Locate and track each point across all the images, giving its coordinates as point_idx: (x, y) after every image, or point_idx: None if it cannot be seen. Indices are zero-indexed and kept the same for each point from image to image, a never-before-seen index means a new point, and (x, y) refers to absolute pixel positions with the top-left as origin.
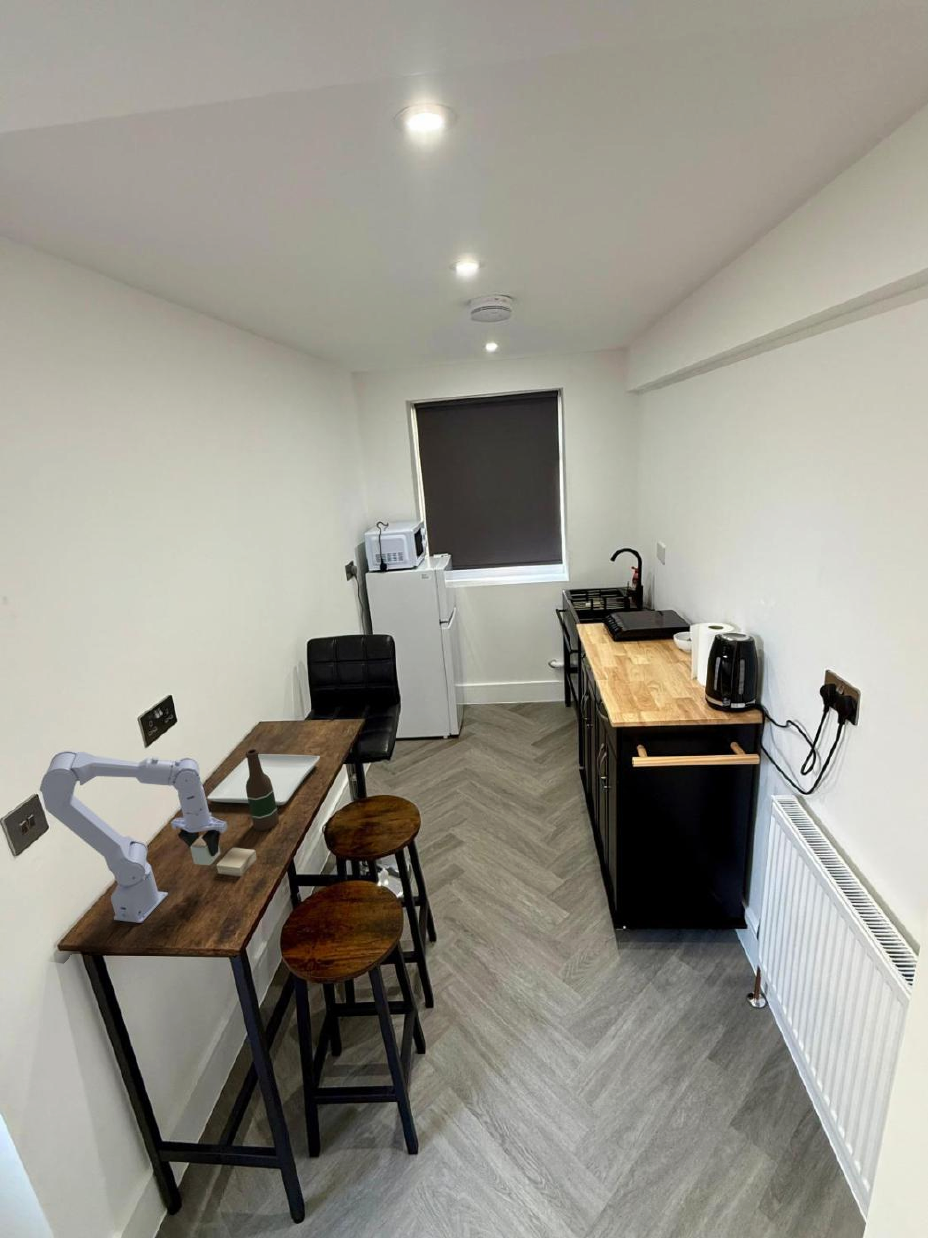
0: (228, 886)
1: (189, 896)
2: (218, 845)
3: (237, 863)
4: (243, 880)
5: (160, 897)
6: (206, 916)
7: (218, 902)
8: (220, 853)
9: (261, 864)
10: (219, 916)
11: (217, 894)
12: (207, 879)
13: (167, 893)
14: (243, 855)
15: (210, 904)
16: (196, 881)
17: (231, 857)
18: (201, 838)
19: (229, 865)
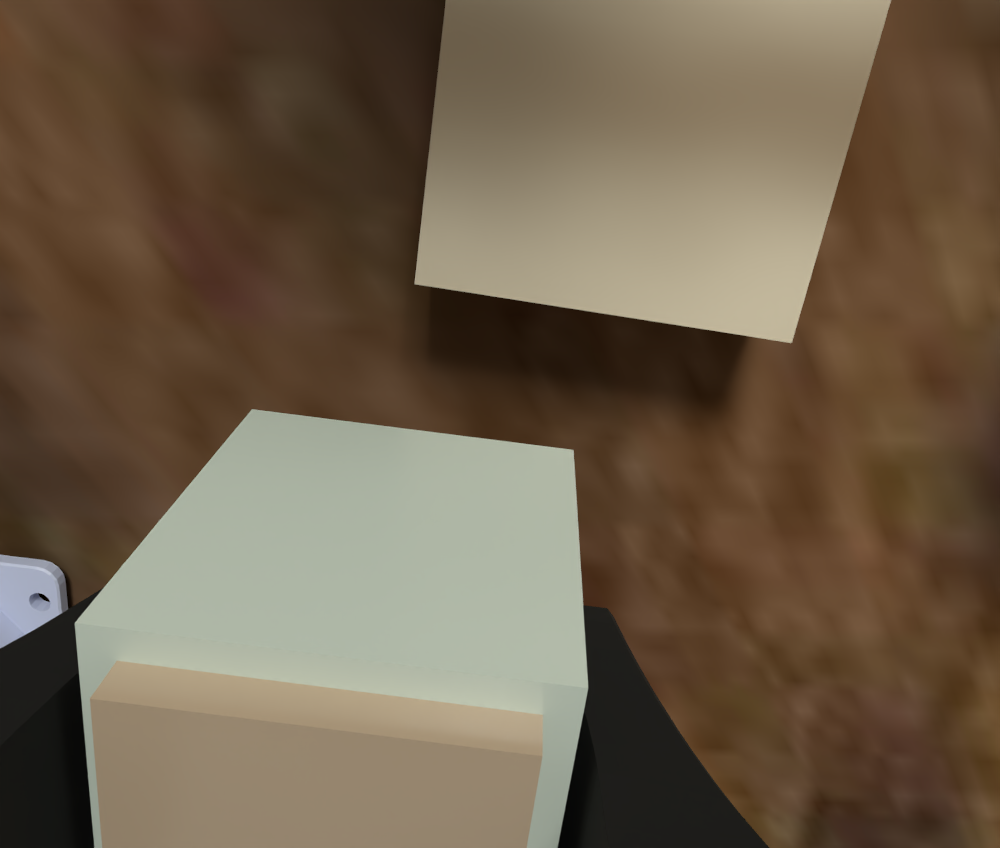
0: (663, 455)
1: None
2: (645, 680)
3: (724, 251)
4: (809, 367)
5: (28, 628)
6: None
7: (654, 649)
8: (571, 456)
9: (969, 71)
10: (739, 785)
11: (592, 558)
12: (350, 350)
13: (54, 573)
14: (753, 63)
15: None
16: (237, 380)
17: (568, 115)
18: (199, 820)
19: (617, 292)
